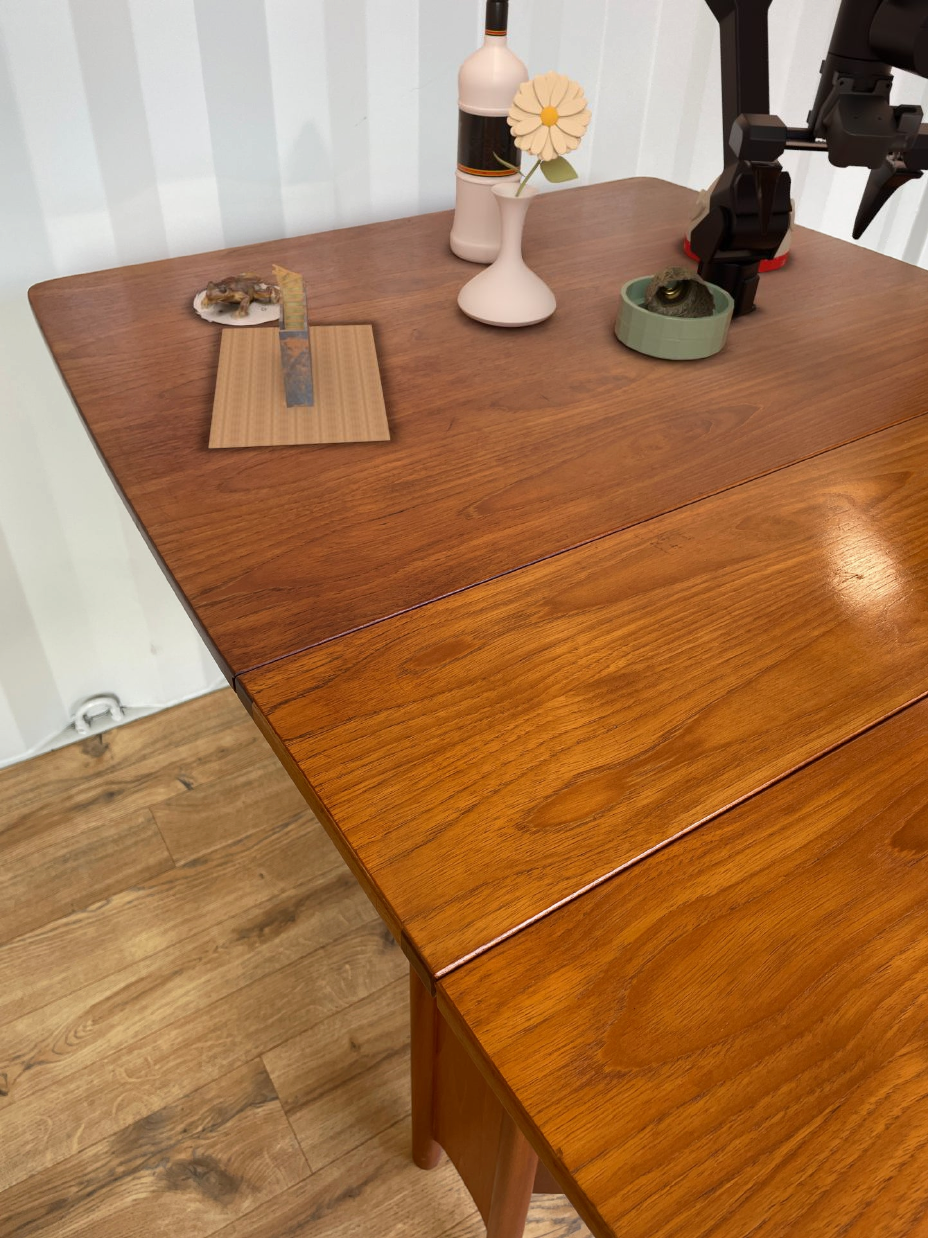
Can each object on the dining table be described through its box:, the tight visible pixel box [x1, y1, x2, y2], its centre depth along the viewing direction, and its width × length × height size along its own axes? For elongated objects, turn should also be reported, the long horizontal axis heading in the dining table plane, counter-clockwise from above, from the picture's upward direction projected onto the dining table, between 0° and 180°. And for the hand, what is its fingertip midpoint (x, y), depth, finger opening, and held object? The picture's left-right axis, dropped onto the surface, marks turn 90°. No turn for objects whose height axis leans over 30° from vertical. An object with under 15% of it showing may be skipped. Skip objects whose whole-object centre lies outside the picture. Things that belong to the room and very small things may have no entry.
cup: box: [645, 265, 716, 318], centre depth 98 cm, size 8×7×8 cm
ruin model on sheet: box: [208, 263, 391, 449], centre depth 87 cm, size 25×16×10 cm, turn 8°
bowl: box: [613, 274, 734, 361], centre depth 99 cm, size 12×12×5 cm
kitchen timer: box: [682, 174, 796, 273], centre depth 116 cm, size 14×14×15 cm
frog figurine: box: [193, 269, 280, 326], centre depth 102 cm, size 12×12×4 cm
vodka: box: [449, 0, 530, 265], centre depth 108 cm, size 9×9×30 cm
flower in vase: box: [457, 70, 592, 328], centre depth 95 cm, size 13×11×25 cm
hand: (808, 235), depth 89 cm, fingers open, 9 cm apart
